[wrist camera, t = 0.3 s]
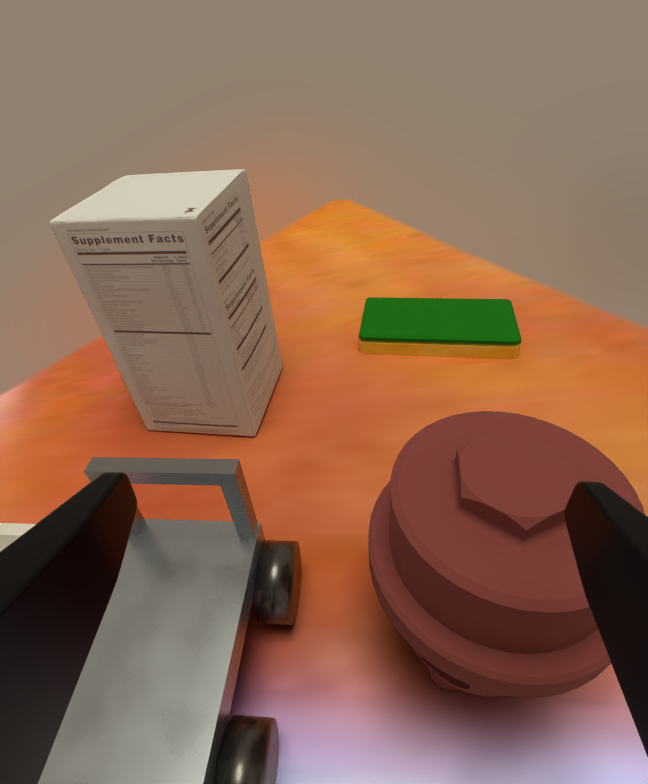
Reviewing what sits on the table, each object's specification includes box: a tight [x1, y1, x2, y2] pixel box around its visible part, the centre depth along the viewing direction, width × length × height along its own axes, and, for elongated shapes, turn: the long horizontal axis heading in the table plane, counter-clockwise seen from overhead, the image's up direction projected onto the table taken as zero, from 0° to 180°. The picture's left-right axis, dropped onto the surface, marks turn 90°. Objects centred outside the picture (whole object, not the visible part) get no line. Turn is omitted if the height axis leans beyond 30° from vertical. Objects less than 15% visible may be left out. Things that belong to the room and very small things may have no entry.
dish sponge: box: [359, 298, 521, 359], centre depth 43 cm, size 7×14×2 cm, turn 80°
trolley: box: [38, 457, 301, 784], centre depth 19 cm, size 12×10×10 cm
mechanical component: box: [368, 411, 645, 697], centre depth 19 cm, size 12×10×10 cm
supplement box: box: [50, 169, 282, 436], centre depth 33 cm, size 10×9×17 cm
